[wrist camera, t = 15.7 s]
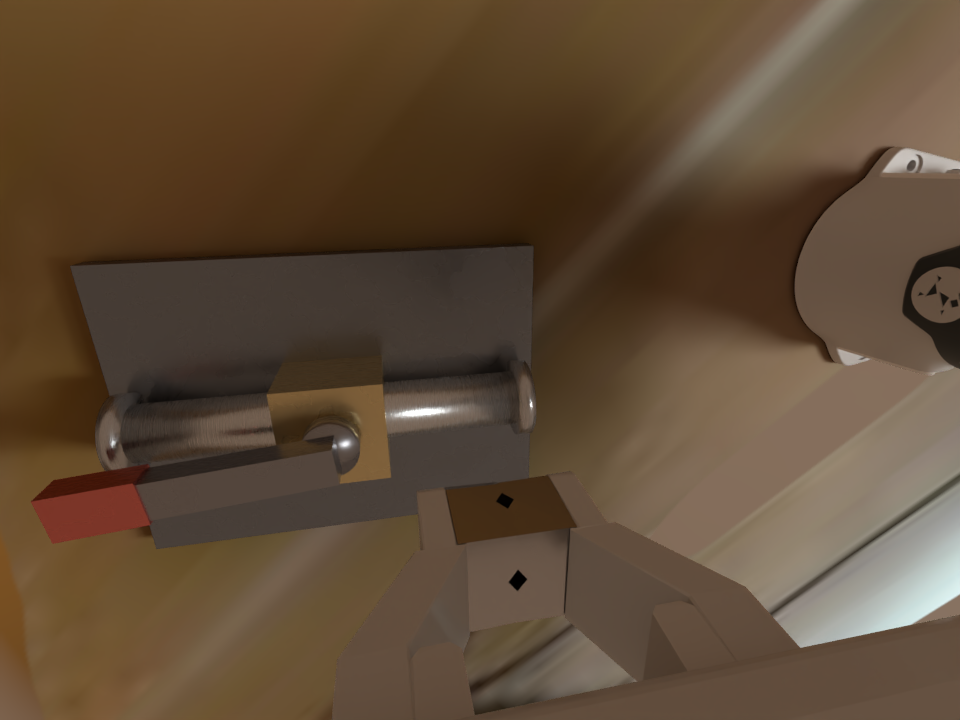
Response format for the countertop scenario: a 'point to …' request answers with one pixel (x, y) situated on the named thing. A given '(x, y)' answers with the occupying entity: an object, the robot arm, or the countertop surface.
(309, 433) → the lever
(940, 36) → the countertop surface
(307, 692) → the countertop surface
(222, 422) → the valve assembly
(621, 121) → the countertop surface
